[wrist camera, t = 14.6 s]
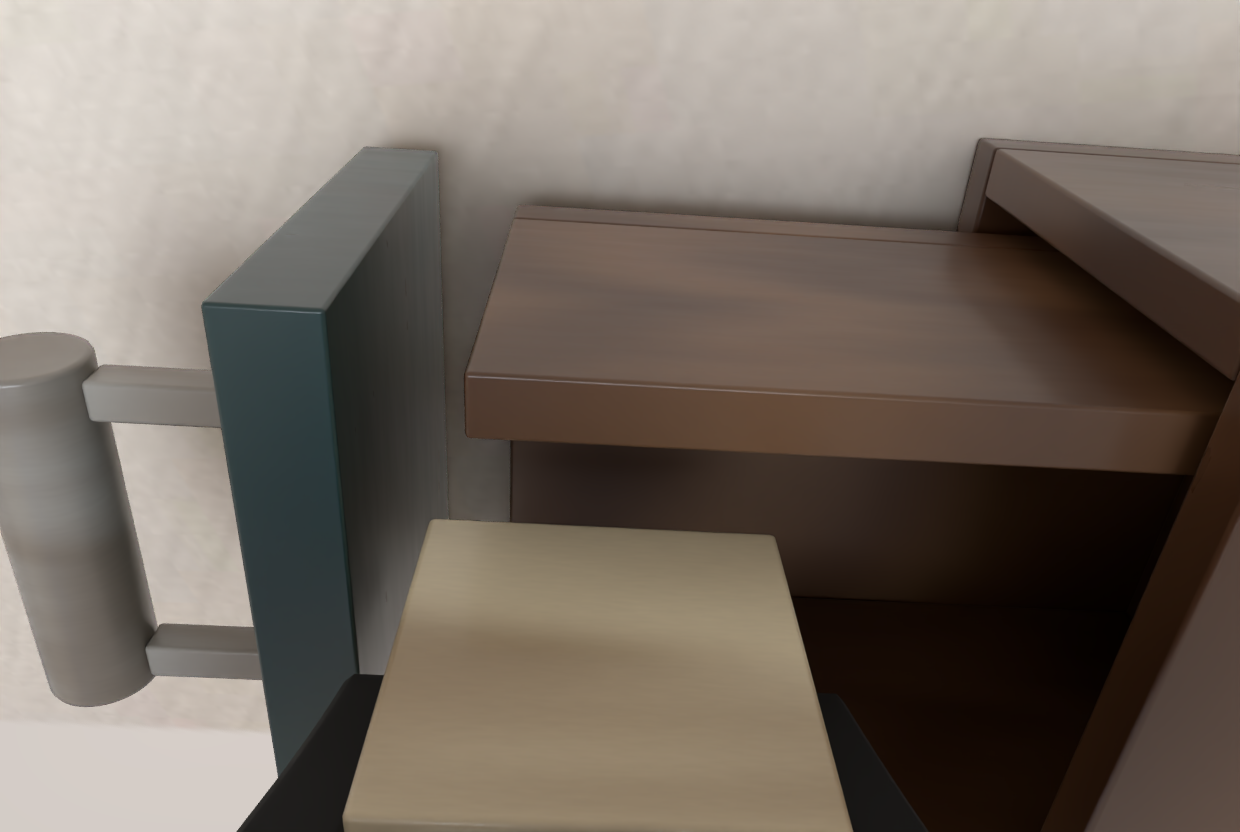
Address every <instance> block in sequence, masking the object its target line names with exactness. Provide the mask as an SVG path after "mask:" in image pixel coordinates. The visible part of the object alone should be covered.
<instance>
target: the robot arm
mask: <svg viewBox="0 0 1240 832" xmlns="http://www.w3.org/2000/svg"><path fill="white" fill-rule="evenodd" d="M383 677H384V675H371V674H353V675H352V676H351V677H349V678H348V679H347V680H346V681H344V683H343V684H342V686H341V688H340V689H339V691H338V692H337V694H336V695H335V697H334V699H333V700H332V702H331V703H330V705H329V706H328V708H327V709H326V711H325V712H324V714H323V715H322V717H321V718H320V720H319V721H318V723H317V724H316V725H315V727H314V728H313V730H312V731H311V733H310V734H309V736H308V737H307V738H306V740H305V741H304V743H303V744H302V746H301V747H300V748H299V750H298V751H297V752H296V754H295V755H294V757H293V758H292V759H291V761H290V762H289V763H288V765H287V766H286V768H285V769H284V770H283V772H282V773H281V774H280V776H279V777H278V779H277V780H276V781H275V783H274V784H273V785H272V787H271V788H270V789H269V790H268V792H267V793H266V794H265V796H264V797H263V798H262V800H261V801H260V802H259V803H258V805H257V806H256V807H255V809H254V810H253V811H252V812H251V814H250V815H249V816H248V818H247V819H246V820H245V821H244V823H243V824H242V825H241V827H240V828H239V829H238V830H237V832H344V826H343V818H342V816H343V812H344V809H345V806H346V802H347V799H348V795H349V792H350V789H351V785H352V782H353V778H354V775H355V772H356V768H357V765H358V761H359V758H360V755H361V751H362V748H363V745H364V741H365V738H366V734H367V731H368V728H369V724H370V721H371V717H372V714H373V711H374V707H375V704H376V700H377V697H378V694H379V690H380V687H381V684H382V680H383ZM817 697H818V701H819V704H820V708H821V712H822V716H823V719H824V723H825V727H826V731H827V734H828V738H829V742H830V746H831V750H832V753H833V757H834V761H835V765H836V768H837V772H838V776H839V780H840V783H841V787H842V791H843V795H844V798H845V802H846V806H847V810H848V814H849V817H850V821H851V825H852V829H853V832H929V831H928V830H927V829H926V827H925V826H924V824H923V823H922V821H921V820H920V819H919V817H918V816H917V814H916V813H915V811H914V810H913V808H912V807H911V805H910V804H909V803H908V801H907V800H906V798H905V797H904V795H903V794H902V792H901V791H900V789H899V787H898V786H897V784H896V783H895V781H894V780H893V778H892V777H891V775H890V774H889V772H888V771H887V769H886V768H885V766H884V765H883V763H882V762H881V760H880V759H879V757H878V756H877V754H876V752H875V751H874V749H873V748H872V746H871V745H870V743H869V741H868V740H867V738H866V737H865V735H864V734H863V732H862V730H861V729H860V727H859V726H858V724H857V722H856V721H855V719H854V718H853V716H852V714H851V713H850V711H849V709H848V708H847V706H846V705H845V703H844V702H843V700H842V699H841V698H840V697H839V696H838V695H837V694H833V693H817Z"/></svg>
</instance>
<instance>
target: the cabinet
mask: <svg viewBox="0 0 1240 832" xmlns="http://www.w3.org/2000/svg"><path fill="white" fill-rule="evenodd" d="M956 232H970V233H986V234H1002V235H1018V236H1034V237H1041V238H1042V239H1044V240H1045V241H1046V242H1048V243H1049V244H1050V245H1052V246H1053V247H1054V248H1056V249H1057V250H1058V251H1060V252H1061V253H1062V254H1064V255H1065V256H1066V257H1068V258H1069V259H1070V260H1072V261H1073V262H1074V263H1075V264H1077V265H1078V266H1079V267H1081V268H1082V269H1083V270H1085V271H1086V272H1087V273H1089V274H1090V275H1091V276H1093V277H1094V278H1095V279H1097V280H1098V281H1099V282H1101V283H1102V284H1103V285H1105V286H1106V287H1107V288H1109V289H1110V290H1111V291H1113V292H1114V293H1115V294H1117V295H1118V296H1119V297H1121V298H1122V299H1123V300H1125V301H1126V302H1127V303H1129V304H1130V305H1131V306H1133V307H1134V308H1135V309H1137V310H1138V311H1139V312H1141V313H1142V314H1143V315H1145V316H1146V317H1147V318H1149V319H1150V320H1151V321H1153V322H1154V323H1155V324H1157V325H1158V326H1159V327H1161V328H1162V329H1163V330H1165V331H1166V332H1167V333H1169V334H1170V335H1171V336H1173V337H1174V338H1175V339H1177V340H1178V341H1179V342H1181V343H1182V344H1183V345H1185V346H1186V347H1187V348H1189V349H1190V350H1191V351H1193V352H1194V353H1195V354H1197V355H1198V356H1199V357H1201V358H1202V359H1203V360H1205V361H1206V362H1207V363H1208V364H1210V365H1211V366H1212V367H1214V368H1215V369H1216V370H1218V371H1219V372H1220V373H1222V374H1223V375H1224V376H1226V377H1227V378H1228V379H1230V380H1232V381H1235V383H1234V385H1233V387H1232V390H1231V392H1230V394H1229V396H1228V399H1227V401H1226V403H1225V406H1224V408H1223V410H1222V413H1221V415H1220V417H1219V420H1218V422H1217V424H1216V427H1215V429H1214V431H1213V433H1212V436H1211V438H1210V440H1209V443H1208V445H1207V447H1206V450H1205V452H1204V454H1203V457H1202V459H1201V461H1200V463H1199V466H1198V468H1197V470H1196V473H1195V475H1194V477H1193V480H1192V482H1191V484H1190V487H1189V489H1188V491H1187V494H1186V496H1185V498H1184V500H1183V503H1182V505H1181V507H1180V510H1179V512H1178V514H1177V517H1176V519H1175V521H1174V524H1173V526H1172V528H1171V531H1170V533H1169V535H1168V537H1167V540H1166V542H1165V544H1164V547H1163V549H1162V551H1161V554H1160V556H1159V558H1158V561H1157V563H1156V565H1155V568H1154V570H1153V572H1152V574H1151V577H1150V579H1149V581H1148V584H1147V586H1146V588H1145V591H1144V593H1143V595H1142V598H1141V600H1140V602H1139V605H1138V607H1137V609H1136V611H1135V614H1134V616H1133V618H1132V621H1131V623H1130V625H1129V628H1128V630H1127V632H1126V635H1125V637H1124V639H1123V641H1122V644H1121V646H1120V648H1119V651H1118V653H1117V655H1116V658H1115V660H1114V662H1113V665H1112V667H1111V669H1110V672H1109V674H1108V676H1107V678H1106V681H1105V683H1104V685H1103V688H1102V690H1101V692H1100V695H1099V697H1098V699H1097V702H1096V704H1095V706H1094V709H1093V711H1092V713H1091V715H1090V718H1089V720H1088V722H1087V725H1086V727H1085V729H1084V732H1083V734H1082V736H1081V739H1080V741H1079V743H1078V746H1077V748H1076V750H1075V752H1074V755H1073V757H1072V759H1071V762H1070V764H1069V766H1068V769H1067V771H1066V773H1065V776H1064V778H1063V780H1062V782H1061V785H1060V787H1059V789H1058V792H1057V794H1056V796H1055V799H1054V801H1053V803H1052V806H1051V808H1050V810H1049V813H1048V815H1047V817H1046V819H1045V822H1044V824H1043V826H1042V829H1041V831H1040V832H1240V155H1226V154H1211V153H1196V152H1181V151H1166V150H1151V149H1136V148H1120V147H1105V146H1090V145H1075V144H1060V143H1045V142H1030V141H1015V140H1000V139H985V138H984V139H980V141H979V143H978V147H977V151H976V155H975V159H974V163H973V167H972V171H971V175H970V179H969V183H968V187H967V191H966V195H965V199H964V203H963V207H962V211H961V215H960V219H959V223H958V227H957V231H956Z"/></svg>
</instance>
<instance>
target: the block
mask: <svg viewBox="0 0 1240 832" xmlns="http://www.w3.org/2000/svg"><path fill="white" fill-rule="evenodd" d="M342 818H343V826H344V832H853V829H852V825H851V821H850V817H849V814H848V810H847V806H846V802H845V798H844V795H843V791H842V787H841V783H840V780H839V776H838V772H837V768H836V765H835V761H834V757H833V753H832V750H831V746H830V742H829V738H828V734H827V731H826V727H825V723H824V719H823V716H822V712H821V708H820V704H819V701H818V697H817V693H816V689H815V686H814V682H813V678H812V674H811V671H810V667H809V663H808V659H807V655H806V652H805V648H804V644H803V640H802V637H801V633H800V629H799V625H798V622H797V618H796V614H795V610H794V607H793V603H792V599H791V595H790V591H789V588H788V584H787V580H786V576H785V573H784V569H783V565H782V561H781V558H780V554H779V550H778V546H777V543H776V539H775V537H774V536H772V535H766V534H746V533H725V532H704V531H683V530H662V529H641V528H620V527H599V526H579V525H558V524H537V523H516V522H495V521H474V520H453V519H433V520H431V521H430V522H429V525H428V528H427V531H426V534H425V538H424V541H423V545H422V548H421V551H420V555H419V558H418V561H417V565H416V568H415V572H414V575H413V578H412V582H411V585H410V589H409V592H408V595H407V599H406V602H405V606H404V609H403V612H402V616H401V619H400V623H399V626H398V629H397V633H396V636H395V639H394V643H393V646H392V650H391V653H390V656H389V660H388V663H387V667H386V670H385V673H384V677H383V680H382V684H381V687H380V690H379V694H378V697H377V700H376V704H375V707H374V711H373V714H372V717H371V721H370V724H369V728H368V731H367V734H366V738H365V741H364V745H363V748H362V751H361V755H360V758H359V761H358V765H357V768H356V772H355V775H354V778H353V782H352V785H351V789H350V792H349V795H348V799H347V802H346V806H345V809H344V812H343V816H342Z"/></svg>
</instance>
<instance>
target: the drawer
mask: <svg viewBox="0 0 1240 832" xmlns="http://www.w3.org/2000/svg"><path fill="white" fill-rule="evenodd" d="M201 307H202V313H203V319H204V326H205V332H206V338H207V344H208V350H209V356H210V362H211V368H212V370H197V369H179V368H160V367H142V366H123V365H102V366H100V367H98V363H97V359H96V354H95V350H94V348H93V347H92V345H91V344H90V343H89V342H88V341H87V340H85V339H83V338H81V337H79V336H76V335H71V334H65V333H56V332H38V333H26V334H18V335H12V336H7V337H3V338H0V531H1V534H2V538H3V541H4V544H5V547H6V550H7V554H8V557H9V560H10V563H11V566H12V569H13V573H14V576H15V579H16V582H17V585H18V588H19V592H20V595H21V598H22V601H23V604H24V607H25V611H26V614H27V617H28V620H29V623H30V627H31V630H32V633H33V636H34V639H35V642H36V646H37V649H38V652H39V655H40V658H41V661H42V665H43V668H44V671H45V674H46V677H47V680H48V684H49V687H50V689H51V691H52V693H53V694H54V695H55V696H56V697H57V698H58V699H59V700H61V701H63V702H64V703H67V704H70V705H73V706H80V707H94V706H101V705H107V704H110V703H114V702H117V701H120V700H122V699H125V698H127V697H129V696H131V695H133V694H135V693H136V692H138V691H139V690H141V689H142V688H144V687H145V686H146V685H147V684H148V683H149V682H151V681H152V679H153V678H154V677H155V676H178V677H203V678H228V679H252V680H262V681H263V687H264V693H265V699H266V705H267V712H268V718H269V724H270V730H271V736H272V742H273V748H274V753H275V760H276V766H277V773H278V777H279V776H280V774H281V773H282V772H283V770H284V769H285V768H286V766H287V765H288V763H289V762H290V761H291V759H292V758H293V757H294V755H295V754H296V752H297V751H298V750H299V748H300V747H301V746H302V744H303V743H304V741H305V740H306V738H307V737H308V736H309V734H310V733H311V731H312V730H313V728H314V727H315V725H316V724H317V723H318V721H319V720H320V718H321V717H322V715H323V714H324V712H325V711H326V709H327V708H328V706H329V705H330V703H331V702H332V700H333V699H334V697H335V695H336V694H337V692H338V691H339V689H340V688H341V686H342V684H343V683H344V681H346V680H347V679H348V678H349V677H351V676H352V675H353V674H371V675H384V673H385V670H386V667H387V663H388V660H389V656H390V653H391V650H392V646H393V643H394V639H395V636H396V633H397V629H398V626H399V623H400V619H401V616H402V612H403V609H404V606H405V602H406V599H407V595H408V592H409V589H410V585H411V582H412V578H413V575H414V572H415V568H416V565H417V561H418V558H419V555H420V551H421V548H422V545H423V541H424V538H425V534H426V531H427V528H428V525H429V522H430V521H431V520H433V519H448V484H447V449H446V414H445V379H444V344H443V309H442V274H441V239H440V204H439V168H438V153H437V152H436V151H427V150H412V149H396V148H381V147H364V148H363V149H362V150H361V151H360V152H359V153H358V154H356V155H355V156H354V157H353V158H352V159H351V160H350V161H349V162H348V163H347V164H346V165H345V166H344V167H343V168H342V169H341V170H340V171H339V172H338V173H337V174H336V175H335V176H334V177H332V178H331V179H330V180H329V181H328V182H327V183H326V184H325V185H324V186H323V187H322V188H321V189H320V190H319V191H318V192H317V193H316V194H315V195H314V196H313V197H312V198H311V199H309V200H308V201H307V202H306V203H305V204H304V205H303V206H302V207H301V208H300V209H299V210H298V211H297V212H296V213H295V214H294V215H293V216H292V217H291V218H290V219H289V220H288V221H287V222H285V223H284V224H283V225H282V226H281V227H280V228H279V229H278V230H277V231H276V232H275V233H274V234H273V235H272V236H271V237H270V238H269V239H268V240H267V241H266V242H265V243H264V244H263V245H261V246H260V247H259V248H258V249H257V250H256V251H255V252H254V253H253V254H252V255H251V256H250V257H249V258H248V259H247V260H246V261H245V262H244V263H243V264H242V265H241V266H240V267H238V268H237V269H236V270H235V271H234V272H233V273H232V274H231V275H230V276H229V277H228V278H227V279H226V280H225V281H224V282H223V283H222V284H221V285H220V286H219V287H218V288H217V289H216V290H214V291H213V292H212V293H211V294H210V295H209V296H208V297H207V298H206V299H205V300H204V301H203V302H202V305H201ZM1234 383H1235V381H1232V380H1230V379H1228V378H1227V377H1226V376H1224V375H1223V374H1222V373H1220V372H1219V371H1218V370H1216V369H1215V368H1214V367H1212V366H1211V365H1210V364H1208V363H1207V362H1206V361H1205V360H1203V359H1202V358H1201V357H1199V356H1198V355H1197V354H1195V353H1194V352H1193V351H1191V350H1190V349H1189V348H1187V347H1186V346H1185V345H1183V344H1182V343H1181V342H1179V341H1178V340H1177V339H1175V338H1174V337H1173V336H1171V335H1170V334H1169V333H1167V332H1166V331H1165V330H1163V329H1162V328H1161V327H1159V326H1158V325H1157V324H1155V323H1154V322H1153V321H1151V320H1150V319H1149V318H1147V317H1146V316H1145V315H1143V314H1142V313H1141V312H1139V311H1138V310H1137V309H1135V308H1134V307H1133V306H1131V305H1130V304H1129V303H1127V302H1126V301H1125V300H1123V299H1122V298H1121V297H1119V296H1118V295H1117V294H1115V293H1114V292H1113V291H1111V290H1110V289H1109V288H1107V287H1106V286H1105V285H1103V284H1102V283H1101V282H1099V281H1098V280H1097V279H1095V278H1094V277H1093V276H1091V275H1090V274H1089V273H1087V272H1086V271H1085V270H1083V269H1082V268H1081V267H1079V266H1078V265H1077V264H1075V263H1074V262H1073V261H1072V260H1070V259H1069V258H1068V257H1066V256H1065V255H1064V254H1062V253H1061V252H1060V251H1058V250H1057V249H1056V248H1054V247H1053V246H1052V245H1050V244H1049V243H1048V242H1046V241H1045V240H1044V239H1042V238H1041V237H1034V236H1018V235H1002V234H986V233H970V232H954V231H938V230H922V229H905V228H889V227H873V226H857V225H841V224H825V223H809V222H793V221H777V220H760V219H744V218H728V217H712V216H696V215H680V214H664V213H648V212H632V211H616V210H599V209H583V208H567V207H551V206H535V205H518V206H517V208H516V211H515V215H514V218H513V221H512V224H511V227H510V230H509V233H508V236H507V240H506V243H505V246H504V249H503V252H502V256H501V259H500V262H499V265H498V268H497V271H496V275H495V278H494V281H493V284H492V287H491V291H490V294H489V297H488V300H487V303H486V307H485V310H484V313H483V316H482V319H481V323H480V326H479V329H478V332H477V335H476V338H475V342H474V345H473V348H472V351H471V354H470V358H469V361H468V364H467V367H466V370H465V374H464V406H465V434H466V436H467V437H468V438H478V439H498V440H510V522H516V523H537V524H558V525H579V526H599V527H620V528H641V529H662V530H683V531H704V532H725V533H746V534H766V535H772V536H774V537H775V539H776V543H777V546H778V550H779V554H780V558H781V561H782V565H783V569H784V573H785V576H786V580H787V584H788V588H789V591H790V595H791V599H792V603H793V607H794V610H795V614H796V618H797V622H798V625H799V629H800V633H801V637H802V640H803V644H804V648H805V652H806V655H807V659H808V663H809V667H810V671H811V674H812V678H813V682H814V686H815V689H816V693H833V694H837V695H838V696H839V697H840V698H841V699H842V700H843V702H844V703H845V705H846V706H847V708H848V709H849V711H850V713H851V714H852V716H853V718H854V719H855V721H856V722H857V724H858V726H859V727H860V729H861V730H862V732H863V734H864V735H865V737H866V738H867V740H868V741H869V743H870V745H871V746H872V748H873V749H874V751H875V752H876V754H877V756H878V757H879V759H880V760H881V762H882V763H883V765H884V766H885V768H886V769H887V771H888V772H889V774H890V775H891V777H892V778H893V780H894V781H895V783H896V784H897V786H898V787H899V789H900V791H901V792H902V794H903V795H904V797H905V798H906V800H907V801H908V803H909V804H910V805H911V807H912V808H913V810H914V811H915V813H916V814H917V816H918V817H919V819H920V820H921V821H922V823H923V824H924V826H925V827H926V829H927V830H928V831H929V832H1040V831H1041V829H1042V826H1043V824H1044V822H1045V819H1046V817H1047V815H1048V813H1049V810H1050V808H1051V806H1052V803H1053V801H1054V799H1055V796H1056V794H1057V792H1058V789H1059V787H1060V785H1061V782H1062V780H1063V778H1064V776H1065V773H1066V771H1067V769H1068V766H1069V764H1070V762H1071V759H1072V757H1073V755H1074V752H1075V750H1076V748H1077V746H1078V743H1079V741H1080V739H1081V736H1082V734H1083V732H1084V729H1085V727H1086V725H1087V722H1088V720H1089V718H1090V715H1091V713H1092V711H1093V709H1094V706H1095V704H1096V702H1097V699H1098V697H1099V695H1100V692H1101V690H1102V688H1103V685H1104V683H1105V681H1106V678H1107V676H1108V674H1109V672H1110V669H1111V667H1112V665H1113V662H1114V660H1115V658H1116V655H1117V653H1118V651H1119V648H1120V646H1121V644H1122V641H1123V639H1124V637H1125V635H1126V632H1127V630H1128V628H1129V625H1130V623H1131V621H1132V618H1133V616H1134V614H1135V611H1136V609H1137V607H1138V605H1139V602H1140V600H1141V598H1142V595H1143V593H1144V591H1145V588H1146V586H1147V584H1148V581H1149V579H1150V577H1151V574H1152V572H1153V570H1154V568H1155V565H1156V563H1157V561H1158V558H1159V556H1160V554H1161V551H1162V549H1163V547H1164V544H1165V542H1166V540H1167V537H1168V535H1169V533H1170V531H1171V528H1172V526H1173V524H1174V521H1175V519H1176V517H1177V514H1178V512H1179V510H1180V507H1181V505H1182V503H1183V500H1184V498H1185V496H1186V494H1187V491H1188V489H1189V487H1190V484H1191V482H1192V480H1193V477H1194V475H1195V473H1196V470H1197V468H1198V466H1199V463H1200V461H1201V459H1202V457H1203V454H1204V452H1205V450H1206V447H1207V445H1208V443H1209V440H1210V438H1211V436H1212V433H1213V431H1214V429H1215V427H1216V424H1217V422H1218V420H1219V417H1220V415H1221V413H1222V410H1223V408H1224V406H1225V403H1226V401H1227V399H1228V396H1229V394H1230V392H1231V390H1232V387H1233V385H1234ZM111 422H115V423H135V424H154V425H174V426H193V427H213V428H221V430H222V436H223V442H224V448H225V454H226V460H227V466H228V473H229V479H230V485H231V491H232V497H233V503H234V509H235V515H236V522H237V528H238V534H239V540H240V546H241V552H242V558H243V565H244V571H245V577H246V583H247V589H248V595H249V601H250V607H251V614H252V620H253V626H254V627H236V626H213V625H189V624H166V623H164V624H161V625H159V627H158V626H157V621H156V617H155V612H154V608H153V604H152V599H151V595H150V591H149V586H148V582H147V577H146V573H145V569H144V564H143V560H142V556H141V551H140V547H139V542H138V538H137V534H136V529H135V525H134V521H133V516H132V512H131V507H130V503H129V499H128V494H127V490H126V486H125V481H124V477H123V472H122V468H121V464H120V459H119V455H118V451H117V446H116V442H115V437H114V433H113V429H112V424H111Z"/></svg>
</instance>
